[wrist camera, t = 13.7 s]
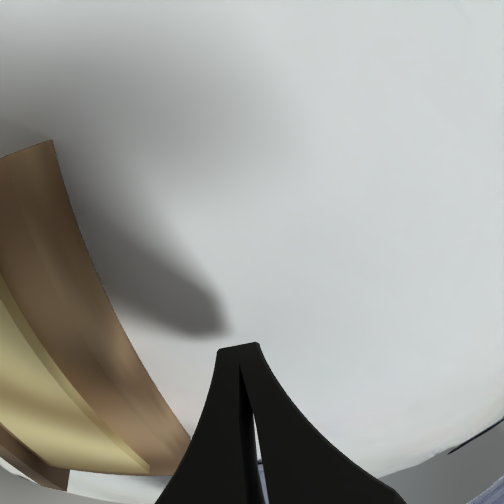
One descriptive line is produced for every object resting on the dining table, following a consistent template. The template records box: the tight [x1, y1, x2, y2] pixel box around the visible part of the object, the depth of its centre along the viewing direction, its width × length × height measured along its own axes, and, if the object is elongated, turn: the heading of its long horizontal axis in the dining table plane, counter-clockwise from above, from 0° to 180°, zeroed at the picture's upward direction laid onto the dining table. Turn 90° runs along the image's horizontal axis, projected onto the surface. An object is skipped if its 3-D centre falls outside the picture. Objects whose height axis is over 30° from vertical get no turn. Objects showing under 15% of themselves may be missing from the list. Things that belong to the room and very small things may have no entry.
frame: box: [0, 140, 191, 476], centre depth 9 cm, size 16×10×4 cm, turn 9°
